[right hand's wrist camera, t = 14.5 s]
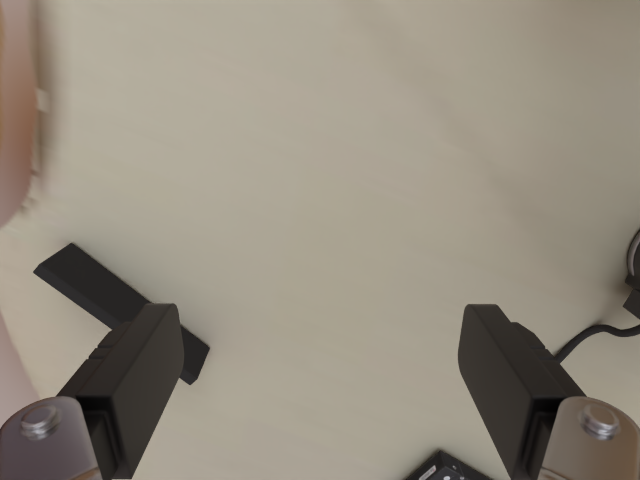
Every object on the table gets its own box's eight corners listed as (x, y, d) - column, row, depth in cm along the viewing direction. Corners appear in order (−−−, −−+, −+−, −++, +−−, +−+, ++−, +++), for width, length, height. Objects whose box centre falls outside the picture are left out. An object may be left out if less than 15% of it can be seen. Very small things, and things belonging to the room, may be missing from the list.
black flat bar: (64, 250, 40) (31, 273, 36) (71, 242, 40) (39, 263, 35) (202, 354, 45) (189, 386, 40) (210, 347, 45) (197, 379, 40)
